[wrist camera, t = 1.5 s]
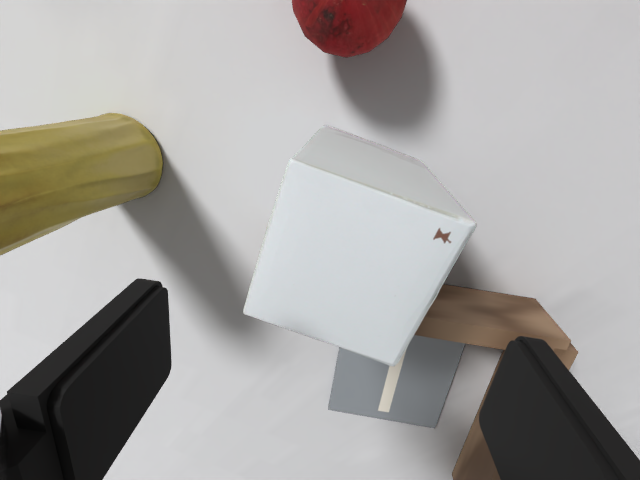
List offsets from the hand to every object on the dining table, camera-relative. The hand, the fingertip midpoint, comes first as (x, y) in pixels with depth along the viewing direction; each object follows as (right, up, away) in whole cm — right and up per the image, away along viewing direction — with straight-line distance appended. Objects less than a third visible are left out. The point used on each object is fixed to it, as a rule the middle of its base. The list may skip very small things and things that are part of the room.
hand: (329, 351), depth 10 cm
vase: (-15, +9, +16) cm, 24 cm away
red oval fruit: (+2, +17, +11) cm, 21 cm away
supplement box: (+2, +7, +16) cm, 17 cm away
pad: (+6, -9, +22) cm, 24 cm away
